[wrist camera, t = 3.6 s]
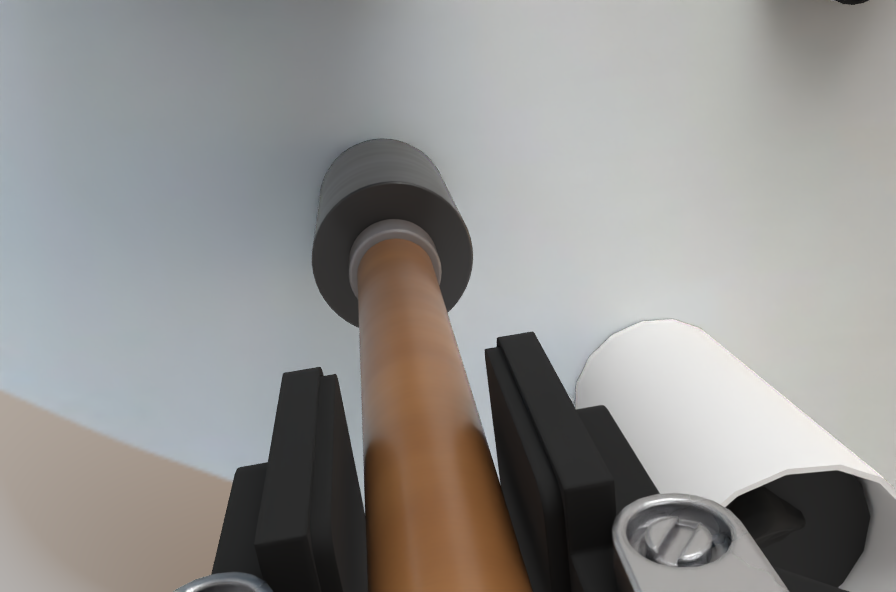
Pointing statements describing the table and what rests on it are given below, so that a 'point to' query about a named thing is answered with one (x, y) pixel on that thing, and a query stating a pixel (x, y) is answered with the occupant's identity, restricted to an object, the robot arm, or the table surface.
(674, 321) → the white tumbler
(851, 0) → the electric trimmer
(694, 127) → the table surface
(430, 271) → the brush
